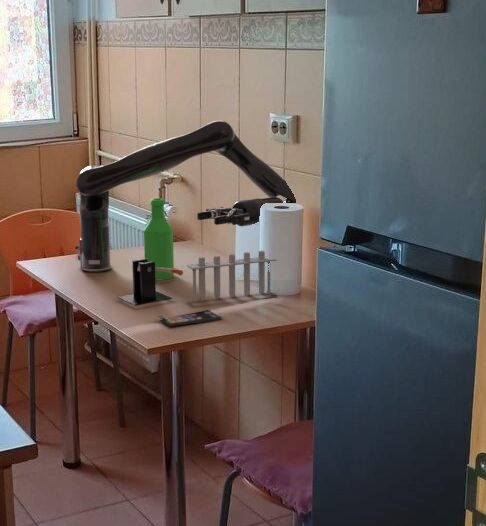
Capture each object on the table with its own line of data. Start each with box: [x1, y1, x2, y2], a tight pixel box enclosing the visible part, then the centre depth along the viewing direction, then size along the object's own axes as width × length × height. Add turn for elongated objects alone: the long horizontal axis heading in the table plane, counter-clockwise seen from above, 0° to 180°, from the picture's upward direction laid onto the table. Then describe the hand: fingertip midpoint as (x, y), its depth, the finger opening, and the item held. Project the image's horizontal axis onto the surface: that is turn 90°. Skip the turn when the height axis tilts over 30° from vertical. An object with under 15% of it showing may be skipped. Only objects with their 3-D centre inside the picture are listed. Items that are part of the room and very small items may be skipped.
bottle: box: [143, 197, 175, 281], centre depth 281 cm, size 9×9×25 cm
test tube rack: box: [186, 250, 277, 302], centre depth 258 cm, size 25×4×13 cm, turn 105°
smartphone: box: [157, 309, 222, 327], centre depth 243 cm, size 8×15×1 cm, turn 113°
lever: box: [137, 262, 184, 276], centre depth 262 cm, size 13×5×2 cm, turn 119°
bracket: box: [117, 257, 173, 307], centre depth 260 cm, size 12×10×12 cm
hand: (206, 218), depth 266 cm, fingers open, 8 cm apart
